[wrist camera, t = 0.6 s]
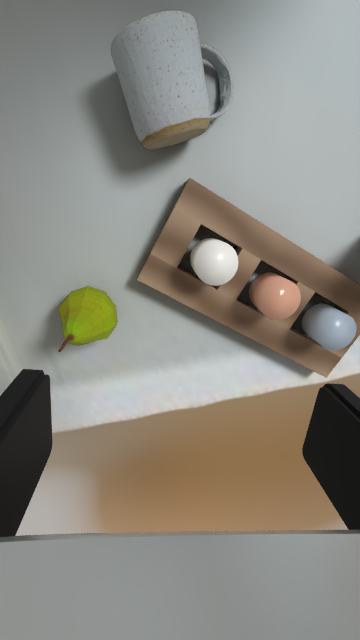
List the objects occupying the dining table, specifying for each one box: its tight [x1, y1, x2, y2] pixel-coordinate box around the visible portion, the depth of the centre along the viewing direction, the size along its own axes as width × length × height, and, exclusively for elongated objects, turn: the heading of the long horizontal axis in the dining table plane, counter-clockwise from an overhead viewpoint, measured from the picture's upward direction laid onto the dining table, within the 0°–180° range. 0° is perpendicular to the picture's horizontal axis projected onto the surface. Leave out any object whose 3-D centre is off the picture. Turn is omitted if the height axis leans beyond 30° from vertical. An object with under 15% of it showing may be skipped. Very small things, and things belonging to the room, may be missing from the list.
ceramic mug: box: [111, 10, 233, 149], centre depth 27 cm, size 11×8×8 cm
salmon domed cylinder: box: [249, 272, 301, 320], centre depth 34 cm, size 4×4×4 cm
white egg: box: [190, 238, 238, 286], centre depth 32 cm, size 4×4×4 cm
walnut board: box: [137, 178, 360, 377], centre depth 37 cm, size 12×28×2 cm, turn 61°
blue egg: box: [302, 304, 357, 350], centre depth 36 cm, size 4×4×4 cm
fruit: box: [58, 286, 117, 352], centre depth 32 cm, size 6×6×12 cm
